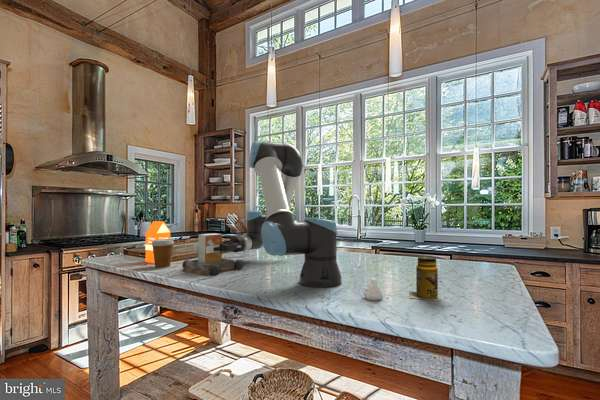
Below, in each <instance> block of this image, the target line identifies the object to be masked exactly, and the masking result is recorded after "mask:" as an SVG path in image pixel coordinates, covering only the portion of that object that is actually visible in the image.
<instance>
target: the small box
mask: <svg viewBox="0 0 600 400" xmlns="http://www.w3.org/2000/svg"><path fill="white" fill-rule="evenodd" d="M222 242H223V233H216V232H215V233H214V232H213V233H201V234H198V244H197V245H198V251H197V253H198V254H197V260H198V263H202V264H213V263H218V262H222V259H223V257H222V256H223V251H222V252H221V251H219V252H213V253H206V247H208V246H215V245H219V247H220V244H222Z"/></svg>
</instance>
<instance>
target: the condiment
mask: <svg viewBox="0 0 600 400" xmlns="http://www.w3.org/2000/svg"><path fill="white" fill-rule="evenodd" d="M415 269H416V270H415V271H416V274H415V275H416V278H415V279H416V284H415V285H416V287H415V288H416V289H415V290H416V291H413V290H411V291H410V290H408V295H409V296H408V297H409V299H415V300H416V299H418V300H423V301H424V300H425V301H436V302H440V301H441V299H440V297H439V290H438V289H439V282H438V280H439V279H438V278H439V277H438V274H439V273H438V267H437V258H436V257H432V256H418V257H417V265H416V267H415Z"/></svg>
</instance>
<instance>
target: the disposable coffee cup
mask: <svg viewBox="0 0 600 400" xmlns="http://www.w3.org/2000/svg"><path fill="white" fill-rule="evenodd" d="M151 244H152V246H153V254H154V262H155V263H154V267H155V268H157V269H164V268H169V267H170V266H171V261H172V256H173V255H172V254H173V247H174V244H175V242H174V239H172V238H170V239H159V240H153V241H152V243H151Z"/></svg>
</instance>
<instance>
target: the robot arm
mask: <svg viewBox="0 0 600 400" xmlns="http://www.w3.org/2000/svg"><path fill="white" fill-rule="evenodd" d="M248 165H249V168H251V169H253V170H254V172H255V174H256V175H258V176H259V180H260V184H261V189H262V195H263V201H264V204H265V205H264V206H265V209H266V210H265V211H266V214H263V213H262V211H260V210H249V211H247V212H246V234H245V235H238V236H232V237H230V239H229V240H222V244H220V247H219V245H215V246H208V247H206V253H213V252H219V251H221V252H222V253H223V252H230V251H231V252H233V253H240V252H243V253H246V252H247V251H252V250H253V251H254V250H258V249H264V251H265V252H266V253H267V254H268V255H269V256H279V257H283V256H294V255H295V256H296V255H304V261H303V264H302V268H301V270H300V273H299V283H300V284H302V285H303V286H306V287H314V288H315V287H316V288H330V287H335V286H340V285H341V284H342V274H341V271H340V267H339V265H338V261H337V260H338V259H337V251H338V250H337V243H338V242H337V237H338V236H337V235H338V232H337V229H338V228H337V223H336V222H335V221H334V220H331V219H323V218H315V217H308V216H306V217H304V219H303V220H299V221H298V219H297V216H296V214H295V213H294V212H292V211H291V208H290V206H291V202H292V199H293V196H294V191H295V188H296V184H297V180H298V178H299V177H300V176H301V175H302V171H303V159H302V156H301V153H300V152H299V150H298V149H297V148H296V146H294V145H292V144H291V143H288V142H278V141H277V142H276V141H264V140H255V141H252V143H251V146H250V151H249V159H248ZM193 252H195V253H196V252H197V253H198V244H194V245H193Z"/></svg>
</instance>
